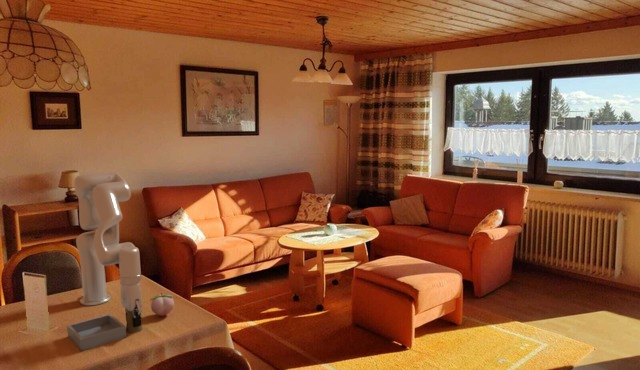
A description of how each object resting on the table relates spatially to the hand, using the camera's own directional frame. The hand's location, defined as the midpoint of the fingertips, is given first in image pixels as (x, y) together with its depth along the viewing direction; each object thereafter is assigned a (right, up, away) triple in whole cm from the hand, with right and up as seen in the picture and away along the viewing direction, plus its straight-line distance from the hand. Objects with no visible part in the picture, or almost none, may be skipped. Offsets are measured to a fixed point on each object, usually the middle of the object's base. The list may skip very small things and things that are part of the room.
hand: (133, 323), depth 196 cm
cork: (0, -3, 0) cm, 3 cm away
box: (-12, -4, -6) cm, 14 cm away
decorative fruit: (+7, -1, +13) cm, 15 cm away
